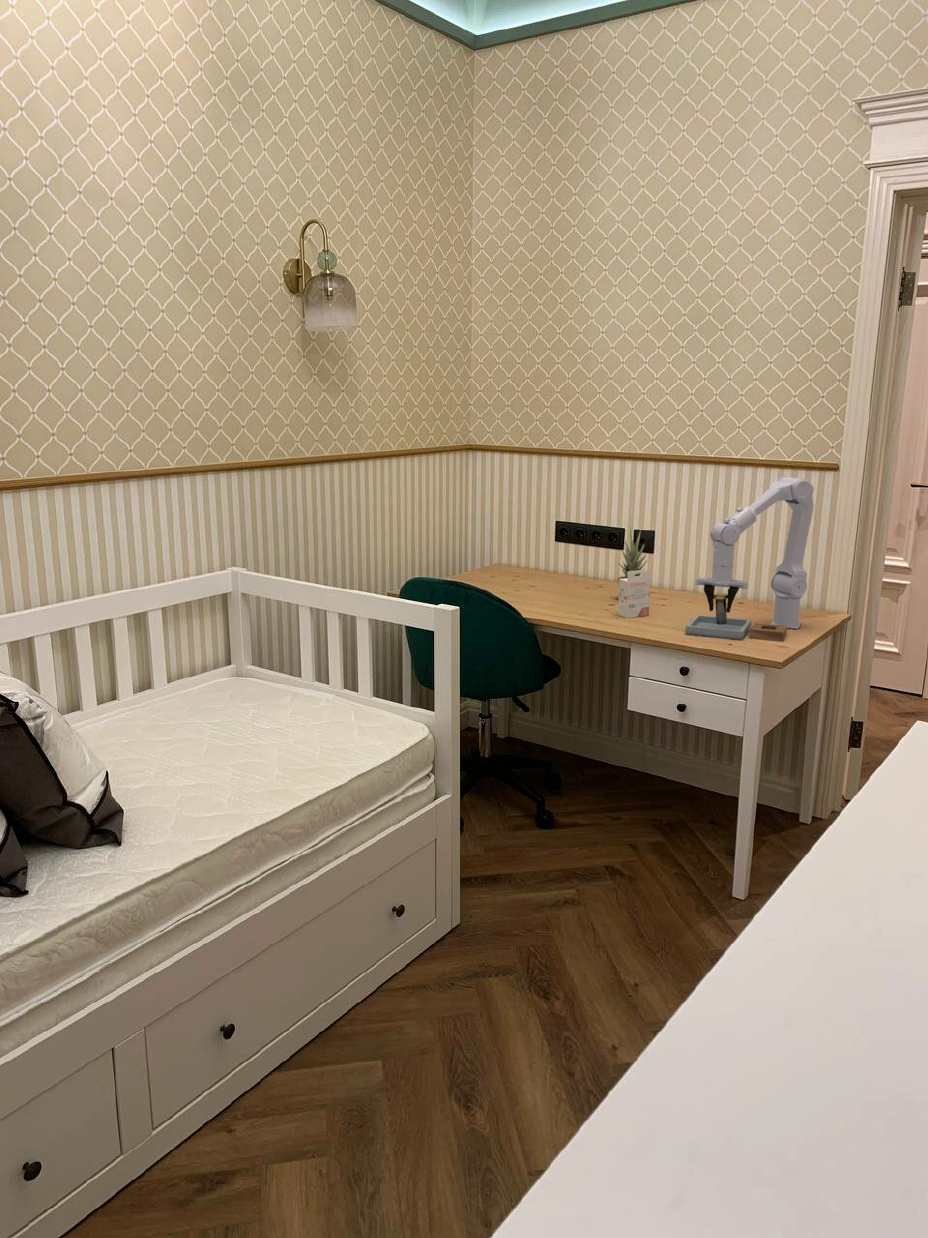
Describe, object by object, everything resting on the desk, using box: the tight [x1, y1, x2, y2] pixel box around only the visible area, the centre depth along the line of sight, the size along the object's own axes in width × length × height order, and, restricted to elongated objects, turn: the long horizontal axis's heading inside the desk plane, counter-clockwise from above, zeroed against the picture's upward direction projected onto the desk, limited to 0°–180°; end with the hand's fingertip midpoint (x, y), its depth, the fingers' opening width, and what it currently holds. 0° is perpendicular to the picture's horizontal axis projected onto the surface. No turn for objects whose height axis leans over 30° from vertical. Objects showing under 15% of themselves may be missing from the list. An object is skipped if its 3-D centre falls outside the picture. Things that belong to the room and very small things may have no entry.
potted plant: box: [616, 527, 648, 585], centre depth 324 cm, size 10×10×25 cm
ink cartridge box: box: [617, 569, 651, 619], centre depth 302 cm, size 9×5×15 cm, turn 114°
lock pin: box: [713, 593, 728, 625], centre depth 282 cm, size 4×4×8 cm
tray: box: [685, 614, 752, 641], centre depth 283 cm, size 16×16×2 cm
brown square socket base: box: [749, 622, 788, 642], centre depth 277 cm, size 9×9×2 cm
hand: (719, 611), depth 282 cm, fingers closed on lock pin, 4 cm apart
